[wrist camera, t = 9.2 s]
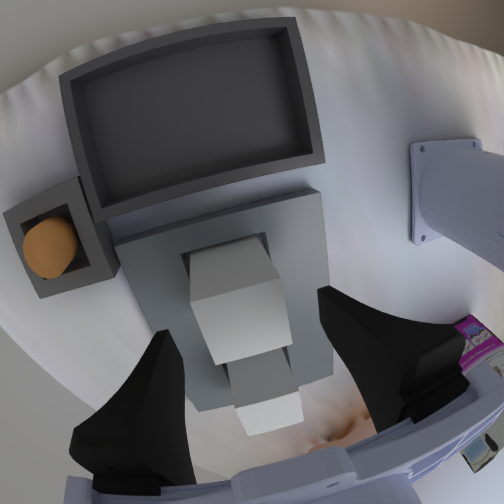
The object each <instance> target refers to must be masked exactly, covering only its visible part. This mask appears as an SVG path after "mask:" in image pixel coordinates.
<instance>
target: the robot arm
mask: <svg viewBox="0 0 504 504" xmlns="http://www.w3.org/2000/svg"><path fill="white" fill-rule="evenodd" d="M420 147H421V148H422V149H421V151H420ZM410 156H411V172H412V242H413V243H414V244H415V245H420V244H423V243H425V242H428V241H431V240H434V239H436V238H439V237H442V236H445V237H447V238H449V239H451V240H452V241H454V242H456V243H458V244H459V245H461V246H463V247H464V248H466V249H468V250H470V251H471V252H473V253H475V254H476V255H478V256H479V257H481V258H483V259H484V260H486V261H488V262H489V263H491V264H492V265H494V266H495V267H497V268H499V269H500V270H502V271H503V272H504V156H503V155H499V154H495V153H491V152H487V151H483V150H482V141H481V140H480V139H477V138H475V139H453V140H437V141H425V142H414V143H412V144H411V146H410ZM421 237H422V238H421ZM317 295H318V306H319V318H320V323H321V325H322V327H323V330H324V332H325V334H326V336H327V338H328V339H329V341H330V342H331V344H332V346H333V347H334V349H335V350H336V352H337V353H338V355H339V356H340V358H341V359H342V361H343V362H344V364H345V365H346V367H347V368H348V370H349V371H350V373H351V375H352V377H353V379H354V381H355V383H356V385H357V387H358V389H359V391H360V393H361V395H362V397H363V400H364V402H365V404H366V406H367V409H368V411H369V413H370V416H371V418H372V421H373V423H374V426H375V428H376V431H377V434H376V435H374V436H372V437H369V438H367V439H365V440H362V441H360V442H358V443H356V444H353V445H350V446H348V447H346V448H344V447H336V446H332V447H327V448H324V449H319V450H316V451H313V452H310V453H307V454H304V455H300V456H297V457H294V458H290V459H287V460H283V461H279V462H276V463H272V464H268V465H264V466H259V467H255V468H251V469H248V470H245V471H241V472H239V473H238V474H236V475H234V476H233V477H232V478H231V480H226V481H219V482H212V483H204V484H197V483H196V479H195V475H194V471H193V467H192V462H191V457H190V452H189V446H188V440H187V433H186V426H185V371H184V363H183V358H182V356H181V354H180V352H179V350H178V348H177V346H176V344H175V342H174V340H173V338H172V335H171V333H170V331H169V329H165V330H161V331H157V332H156V333H155V335H154V337H153V338H152V340H151V342H150V343H149V345H148V347H147V349H146V350H145V352H144V354H143V356H142V357H141V359H140V361H139V362H138V364H137V365H136V367H135V368H134V370H133V371H132V373H131V374H130V376H129V377H128V379H127V380H126V381H125V383H124V384H123V385H122V386H121V387H120V389H119V390H118V391H117V392H116V393H115V394H114V395H113V396H112V397H111V398H110V400H109V401H108V402H107V403H106V404H105V405H104V406H102V407H101V408H100V409H99V410H98V411H97V412H96V413H94V414H93V415H92V416H91V417H90V418H88V419H87V420H85V421H84V422H82V423H81V424H80V425H78V426H77V427H75V428H74V430H73V434H72V439H71V444H70V448H69V454H70V455H71V457H72V458H73V459H74V460H75V461H76V462H77V463H78V464H80V465H81V466H82V467H84V468H85V469H87V470H88V471H89V472H91V473H93V474H94V476H93V480H91V479H88V478H84V477H75V476H67V481H66V488H65V495H64V504H422V503H421V501H420V499H419V497H418V495H417V493H416V492H415V490H414V488H413V486H412V484H413V483H415V482H416V481H418V480H419V479H421V478H423V477H424V476H426V475H427V474H429V473H430V472H432V471H433V470H435V469H436V468H437V467H439V466H440V465H442V464H443V463H444V462H446V461H447V460H448V459H450V458H451V457H452V456H454V455H455V454H456V453H458V452H459V451H460V450H462V449H463V448H464V447H465V446H466V445H468V444H469V443H470V442H471V441H473V440H474V439H475V438H476V437H477V436H479V435H480V434H481V433H482V432H483V431H484V430H486V429H487V428H488V427H489V426H490V425H491V424H492V423H493V422H494V421H495V420H496V419H497V417H498V416H499V415H500V413H501V412H502V411H503V409H504V379H503V378H502V377H501V376H500V375H499V374H498V373H497V372H496V371H495V370H494V369H493V368H492V366H491V365H490V364H489V363H488V362H487V361H486V360H484V361H482V362H481V363H480V364H478V365H477V366H476V367H474V368H473V369H472V370H470V371H469V372H468V373H467V375H466V376H464V375H463V374H462V373H461V372H462V370H463V368H462V367H461V366H460V365H459V362H460V359H461V357H462V354H463V351H464V349H465V345H466V338H465V336H464V335H463V334H462V333H461V332H460V331H459V330H458V329H457V328H456V327H454V326H453V325H452V324H432V323H424V322H418V321H412V320H408V319H404V318H400V317H396V316H393V315H390V314H387V313H384V312H381V311H379V310H376V309H374V308H372V307H369V306H367V305H365V304H363V303H361V302H359V301H357V300H355V299H353V298H351V297H349V296H347V295H346V294H344V293H342V292H340V291H338V290H337V289H335V288H333V287H331V286H329V285H328V286H325V287H321V288H318V289H317Z"/></svg>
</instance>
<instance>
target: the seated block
mask: <svg viewBox="0 0 504 504" xmlns="http://www.w3.org/2000/svg"><path fill="white" fill-rule="evenodd" d="M227 368H228V374H229V379H230V385H231V390H232V396H233V401H234V406H235V410H236V412H237V414H238V416H239V418H240V420H241V422H242V424H243V426H244V428H245V430H246V432H247V434H248V436H253V435H257V434H261V433H265V432H269V431H272V430H276V429H280V428H283V427H286V426H290V425H293V424H296V423H299V422H303V421H304V420H303V413H302V406H301V399H300V392H299V389H298V386H297V384H296V382H295V379H294V377H293V374H292V372H291V369H290V367H289V364H288V362H287V360H286V357H285V355H284V352H283V350H282V347H281V348H278V349H274V350H271V351H268V352H264V353H261V354H257V355H253V356H250V357H246V358H242V359H239V360H235V361H231V362H227Z"/></svg>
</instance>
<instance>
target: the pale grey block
mask: <svg viewBox="0 0 504 504" xmlns="http://www.w3.org/2000/svg"><path fill="white" fill-rule="evenodd" d="M190 305H191V307H192V310H193V312H194V315H195V317H196V320H197V322H198V325H199V327H200V329H201V332H202V334H203V337H204V339H205V341H206V344H207V346H208V349H209V351H210V353H211V355H212V358H213V360H214V362H215V365H219V364H223V363H227V362H231V361H235V360H239V359H242V358H246V357H250V356H253V355H257V354H261V353H264V352H268V351H271V350H274V349H278V348H281V347H284V346H287V345H291V344H293V343H292V337H291V332H290V326H289V320H288V314H287V309H286V303H285V297H284V292H283V286H282V281H281V277H280V275H279V273H278V272H277V270H276V268H275V267H274V265H273V263H272V261H271V260H270V258H269V256H268V254H267V253H266V251H265V249H264V248H263V246H262V244H261V242H260V241H259V239H258V237H257V236H256V234H253V235H249V236H245V237H241V238H238V239H234V240H230V241H226V242H222V243H219V244H215V245H211V246H208V247H204V248H200V249H196V250H193V251H190Z"/></svg>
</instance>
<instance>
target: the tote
mask: <svg viewBox="0 0 504 504" xmlns="http://www.w3.org/2000/svg"><path fill="white" fill-rule="evenodd" d="M59 83H60V89H61V95H62V101H63V107H64V112H65V117H66V122H67V126H68V131H69V135H70V139H71V144H72V148H73V152H74V155H75V159H76V163H77V167H78V170H79V174H80V177H81V180H82V184H83V187H84V190H85V193H86V197H87V200H88V203H89V206H90V209H91V212H92V214H93V217H94V220H95V223H98V222H101V221H104V220H107V219H110V218H112V217H115V216H119V215H122V214H125V213H128V212H131V211H134V210H137V209H140V208H143V207H147V206H150V205H153V204H157V203H160V202H163V201H167V200H170V199H174V198H177V197H181V196H184V195H188V194H191V193H195V192H199V191H202V190H206V189H210V188H214V187H218V186H222V185H226V184H230V183H234V182H238V181H242V180H246V179H251V178H255V177H259V176H264V175H268V174H273V173H277V172H282V171H287V170H292V169H296V168H301V167H307V166H312V165H317V164H322V163H326V162H325V156H324V149H323V143H322V136H321V131H320V125H319V119H318V114H317V108H316V103H315V98H314V93H313V88H312V83H311V79H310V74H309V70H308V65H307V61H306V57H305V53H304V48H303V44H302V40H301V37H300V33H299V29H298V25H297V22H296V18H295V17H277V18H261V19H250V20H241V21H233V22H226V23H219V24H213V25H207V26H202V27H197V28H192V29H188V30H183V31H179V32H175V33H171V34H167V35H163V36H159V37H156V38H152V39H149V40H146V41H142V42H139V43H136V44H133V45H130V46H127V47H124V48H122V49H119V50H116V51H114V52H111V53H108V54H106V55H103V56H101V57H98V58H96V59H94V60H91V61H89V62H87V63H84V64H82V65H80V66H78V67H76V68H74V69H72V70H70V71H67V72H65V73H63V74H62V75H60V76H59Z"/></svg>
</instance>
